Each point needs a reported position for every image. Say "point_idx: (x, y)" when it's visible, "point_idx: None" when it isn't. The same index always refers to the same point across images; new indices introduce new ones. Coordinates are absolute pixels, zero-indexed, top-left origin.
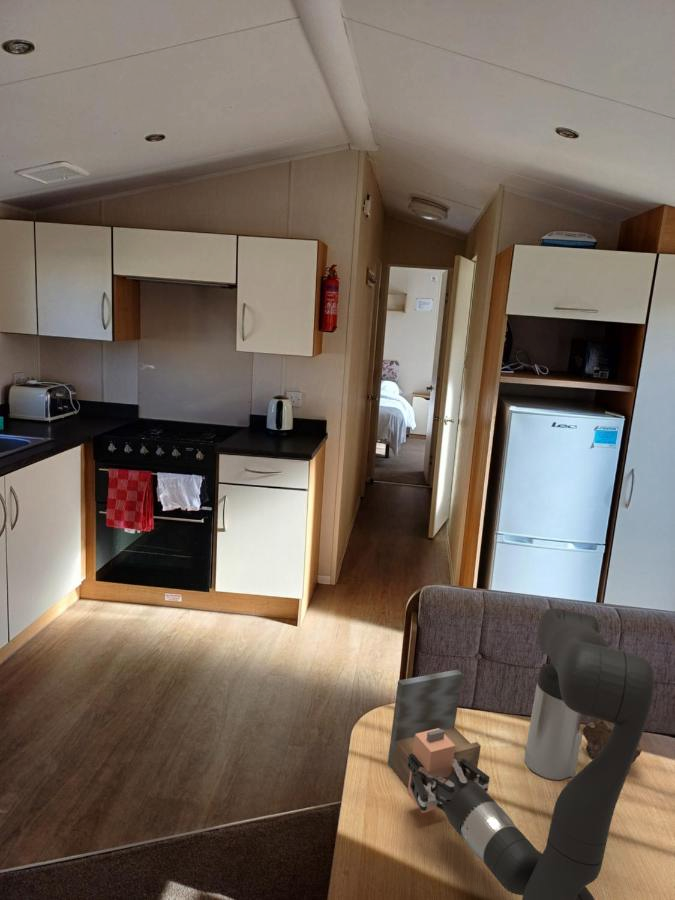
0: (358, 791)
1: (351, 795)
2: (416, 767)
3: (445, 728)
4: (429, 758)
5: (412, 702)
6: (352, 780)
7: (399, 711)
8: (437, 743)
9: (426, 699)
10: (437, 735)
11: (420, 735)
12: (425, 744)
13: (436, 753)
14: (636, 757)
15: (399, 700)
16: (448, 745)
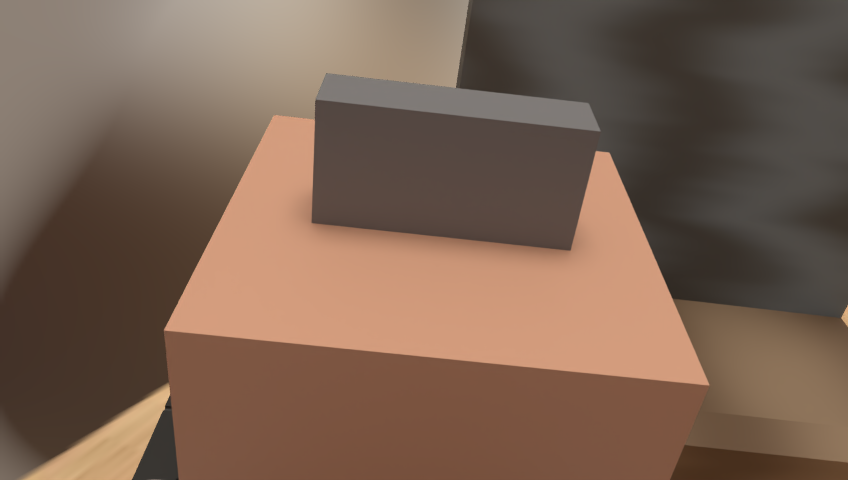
0: (132, 447)
1: (74, 453)
2: (161, 463)
3: (778, 305)
4: (178, 424)
5: (567, 52)
6: (169, 386)
7: (462, 88)
8: (424, 264)
9: (681, 67)
10: (460, 152)
11: (311, 139)
12: (238, 222)
13: (293, 390)
14: None
15: (470, 9)
16: (578, 342)
